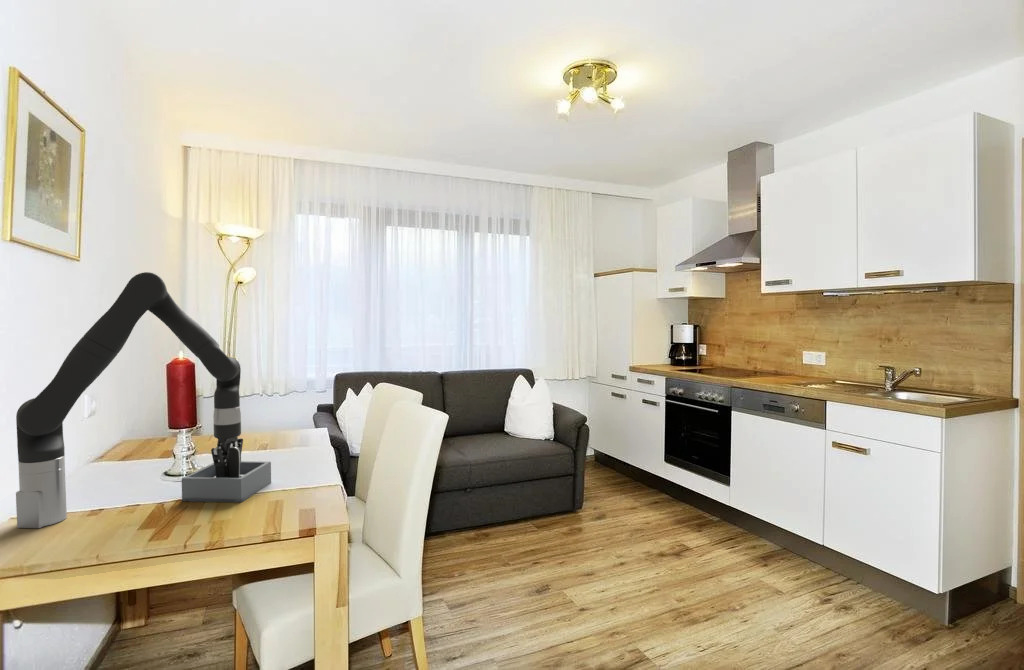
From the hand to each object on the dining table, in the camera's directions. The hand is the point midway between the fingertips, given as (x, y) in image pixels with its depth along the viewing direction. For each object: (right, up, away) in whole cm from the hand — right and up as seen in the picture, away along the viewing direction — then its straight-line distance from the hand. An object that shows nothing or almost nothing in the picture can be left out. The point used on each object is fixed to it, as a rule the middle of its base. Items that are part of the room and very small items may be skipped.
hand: (228, 475), depth 164 cm
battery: (0, -2, 0) cm, 2 cm away
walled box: (0, -5, 0) cm, 5 cm away
